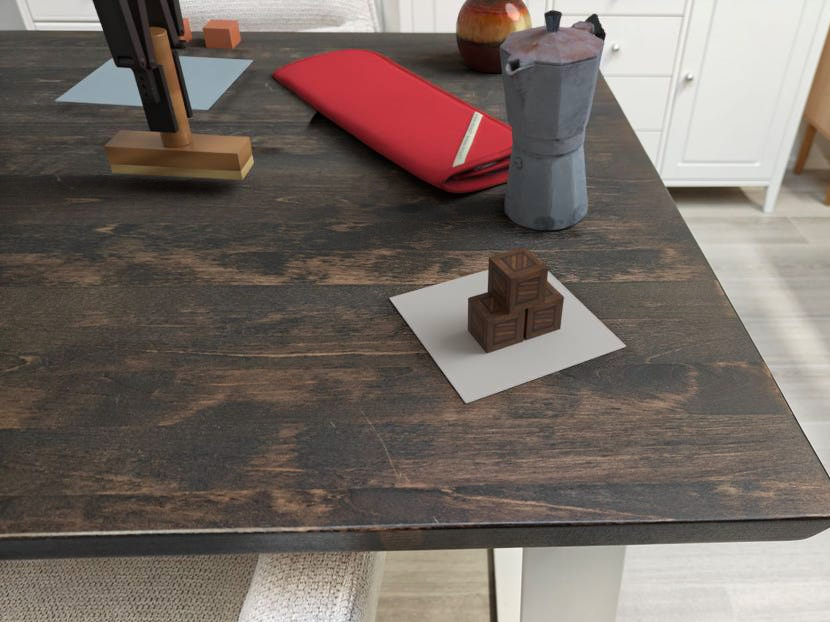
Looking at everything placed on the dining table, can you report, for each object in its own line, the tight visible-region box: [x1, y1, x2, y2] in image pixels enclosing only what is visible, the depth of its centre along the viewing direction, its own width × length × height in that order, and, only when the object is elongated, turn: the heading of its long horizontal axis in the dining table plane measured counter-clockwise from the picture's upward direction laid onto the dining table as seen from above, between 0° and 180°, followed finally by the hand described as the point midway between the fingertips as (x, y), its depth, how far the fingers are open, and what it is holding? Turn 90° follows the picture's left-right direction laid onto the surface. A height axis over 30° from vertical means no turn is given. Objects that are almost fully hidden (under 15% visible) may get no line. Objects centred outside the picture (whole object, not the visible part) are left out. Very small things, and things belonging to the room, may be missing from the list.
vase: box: [455, 0, 533, 74], centre depth 106 cm, size 11×11×15 cm
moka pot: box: [500, 9, 607, 231], centre depth 72 cm, size 10×15×20 cm, turn 145°
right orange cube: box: [201, 19, 242, 50], centre depth 111 cm, size 4×4×4 cm
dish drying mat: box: [271, 48, 513, 194], centre depth 93 cm, size 16×41×4 cm, turn 36°
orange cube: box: [178, 17, 193, 44], centre depth 111 cm, size 4×4×4 cm
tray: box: [54, 55, 254, 111], centre depth 101 cm, size 20×18×1 cm
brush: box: [103, 27, 255, 181], centre depth 75 cm, size 14×4×14 cm, turn 86°
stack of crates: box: [388, 246, 628, 404], centre depth 62 cm, size 15×15×7 cm
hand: (171, 122), depth 76 cm, fingers closed on brush, 3 cm apart
